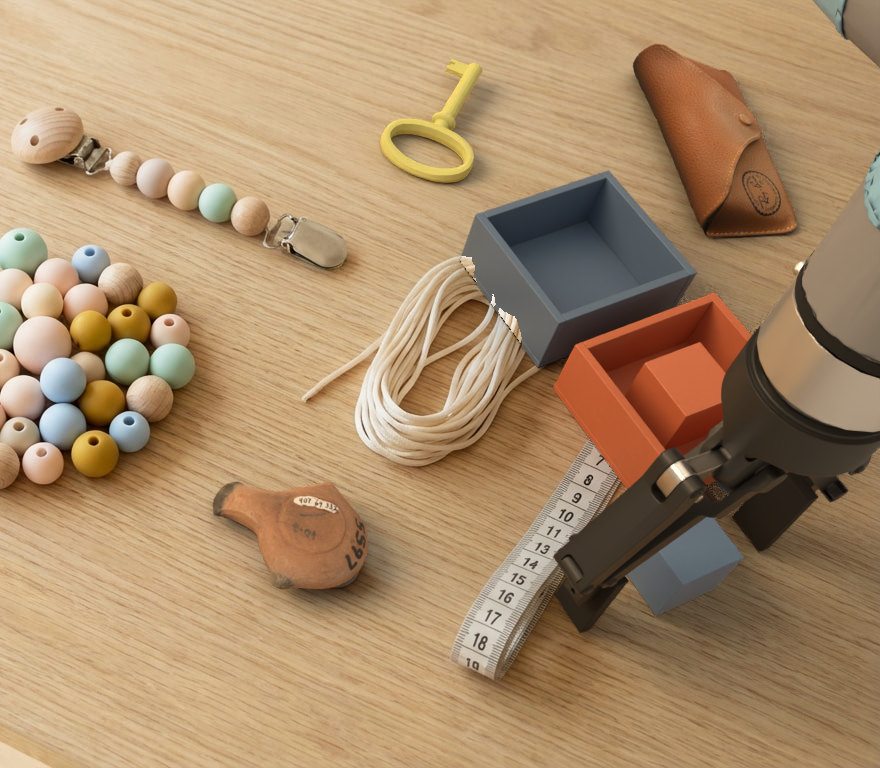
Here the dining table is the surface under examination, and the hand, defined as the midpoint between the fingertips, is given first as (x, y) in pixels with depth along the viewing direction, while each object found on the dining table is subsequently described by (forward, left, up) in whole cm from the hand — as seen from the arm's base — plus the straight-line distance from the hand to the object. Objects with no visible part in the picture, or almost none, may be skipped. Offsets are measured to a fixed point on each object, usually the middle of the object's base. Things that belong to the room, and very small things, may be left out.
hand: (663, 571), depth 74 cm
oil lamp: (+20, -11, 0) cm, 23 cm away
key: (-7, -38, 0) cm, 39 cm away
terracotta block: (-7, -9, 0) cm, 11 cm away
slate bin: (-7, -21, 0) cm, 22 cm away
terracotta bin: (-7, -9, 0) cm, 11 cm away
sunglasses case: (-26, -28, 0) cm, 38 cm away
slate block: (0, 0, 0) cm, 0 cm away
